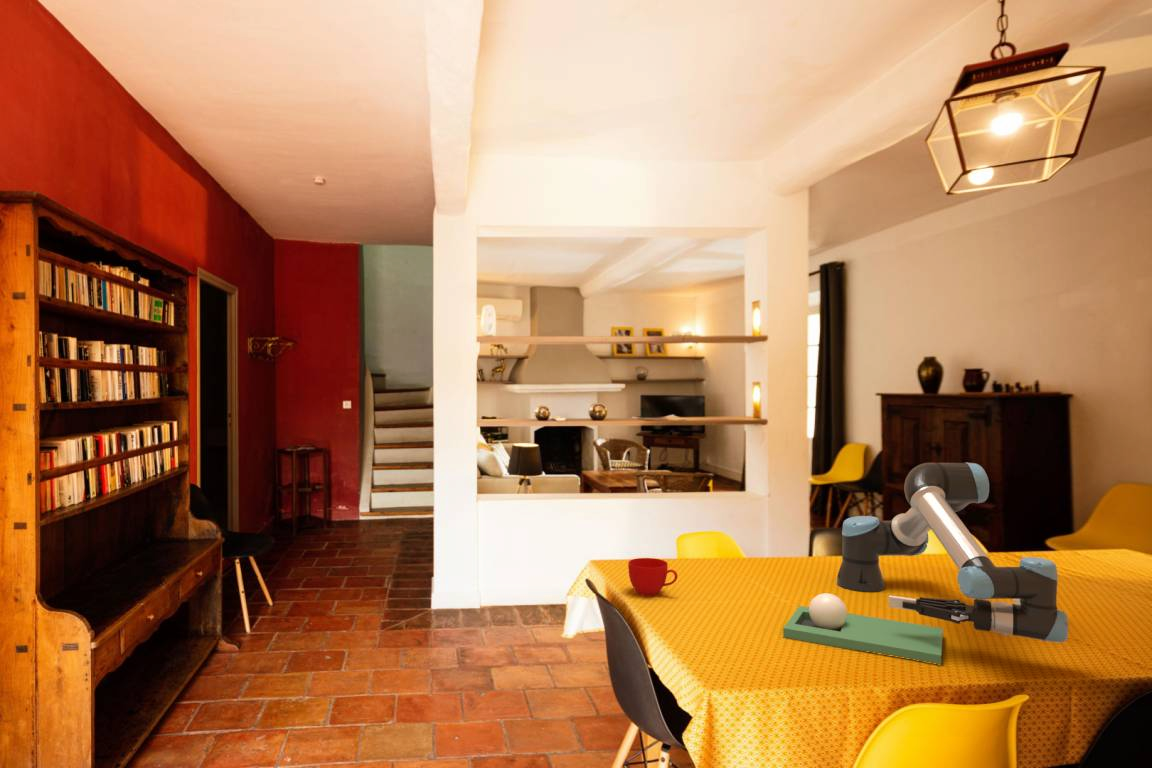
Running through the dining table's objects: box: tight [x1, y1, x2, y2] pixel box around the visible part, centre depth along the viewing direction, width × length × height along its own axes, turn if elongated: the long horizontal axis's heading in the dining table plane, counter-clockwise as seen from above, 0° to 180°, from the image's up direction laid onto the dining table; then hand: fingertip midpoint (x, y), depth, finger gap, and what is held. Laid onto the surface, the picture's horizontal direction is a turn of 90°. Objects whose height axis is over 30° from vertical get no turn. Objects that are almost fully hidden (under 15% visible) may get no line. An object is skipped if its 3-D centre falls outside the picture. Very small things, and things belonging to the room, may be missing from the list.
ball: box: [808, 592, 848, 630], centre depth 191 cm, size 10×10×10 cm
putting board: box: [782, 605, 944, 665], centre depth 187 cm, size 38×22×2 cm, turn 61°
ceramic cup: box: [627, 557, 678, 597], centre depth 225 cm, size 13×17×10 cm
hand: (889, 601), depth 183 cm, fingers closed
